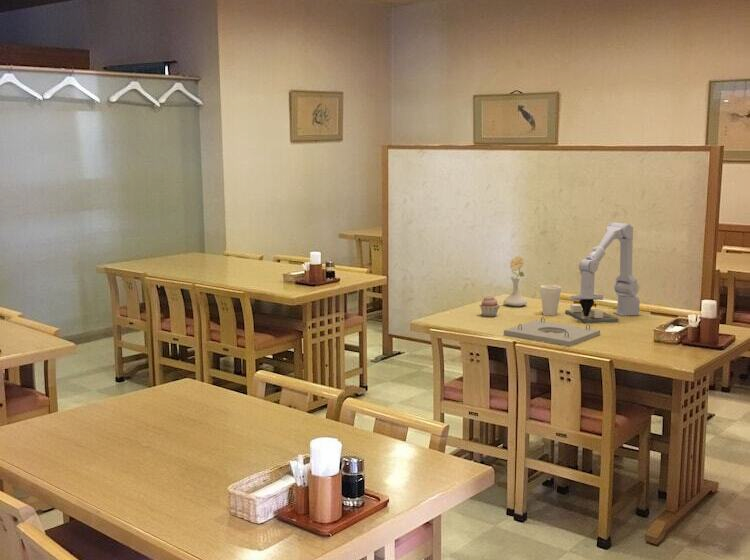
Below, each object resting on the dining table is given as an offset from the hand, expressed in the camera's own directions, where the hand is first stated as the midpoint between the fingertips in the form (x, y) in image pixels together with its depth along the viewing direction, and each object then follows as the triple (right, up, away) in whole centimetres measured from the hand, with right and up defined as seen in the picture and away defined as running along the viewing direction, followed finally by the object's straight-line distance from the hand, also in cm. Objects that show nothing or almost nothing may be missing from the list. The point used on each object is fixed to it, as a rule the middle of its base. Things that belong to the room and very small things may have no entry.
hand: (586, 315), depth 369 cm
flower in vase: (-25, +3, +35) cm, 44 cm away
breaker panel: (+4, -1, +8) cm, 9 cm away
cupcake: (-42, -1, +12) cm, 43 cm away
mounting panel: (-21, -8, -27) cm, 35 cm away
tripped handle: (+5, -1, +1) cm, 5 cm away
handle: (-1, +2, +14) cm, 14 cm away
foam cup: (-13, 0, +15) cm, 20 cm away
